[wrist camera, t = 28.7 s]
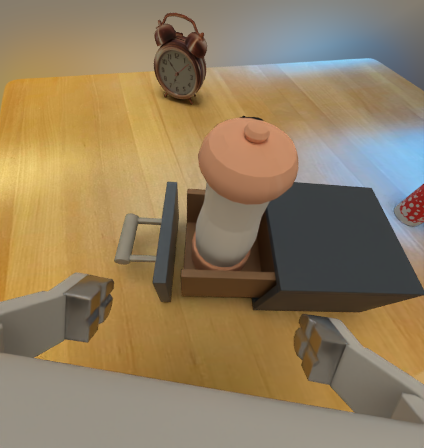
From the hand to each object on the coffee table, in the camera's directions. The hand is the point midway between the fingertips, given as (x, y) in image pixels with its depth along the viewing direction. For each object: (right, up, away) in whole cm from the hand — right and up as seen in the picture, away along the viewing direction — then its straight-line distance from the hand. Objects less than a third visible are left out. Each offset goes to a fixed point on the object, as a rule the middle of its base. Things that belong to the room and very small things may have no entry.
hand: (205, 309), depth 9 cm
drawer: (-2, -1, +21) cm, 21 cm away
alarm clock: (-7, +34, +43) cm, 55 cm away
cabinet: (+13, -2, +23) cm, 26 cm away
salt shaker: (+1, -1, +20) cm, 20 cm away
